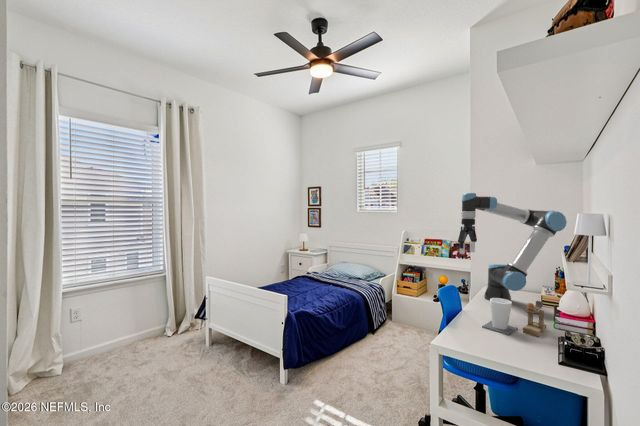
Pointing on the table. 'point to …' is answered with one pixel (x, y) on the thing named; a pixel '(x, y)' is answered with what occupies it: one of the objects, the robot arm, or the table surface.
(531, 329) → the catapult
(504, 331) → the mat
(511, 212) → the robot arm
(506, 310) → the foam cup
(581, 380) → the table surface
